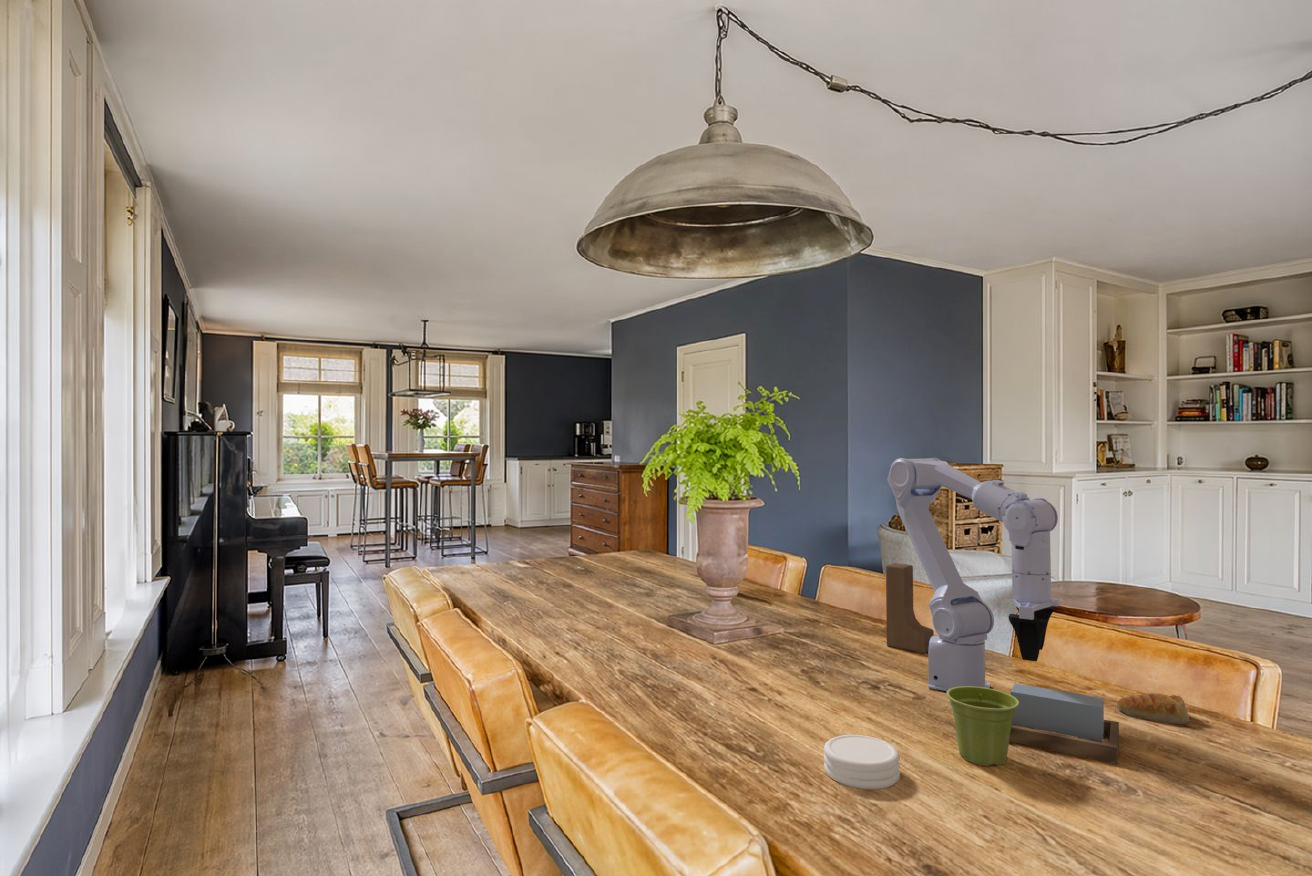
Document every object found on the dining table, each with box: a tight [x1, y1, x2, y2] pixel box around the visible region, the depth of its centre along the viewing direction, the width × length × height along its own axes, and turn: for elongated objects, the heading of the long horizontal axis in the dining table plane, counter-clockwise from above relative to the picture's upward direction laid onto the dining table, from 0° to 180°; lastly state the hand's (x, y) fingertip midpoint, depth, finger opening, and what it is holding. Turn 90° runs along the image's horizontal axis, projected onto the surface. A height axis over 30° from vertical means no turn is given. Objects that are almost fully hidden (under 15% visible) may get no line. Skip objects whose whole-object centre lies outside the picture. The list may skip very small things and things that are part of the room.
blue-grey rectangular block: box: [1010, 683, 1105, 743], centre depth 107 cm, size 12×4×5 cm, turn 56°
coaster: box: [823, 734, 901, 790], centre depth 97 cm, size 10×10×4 cm
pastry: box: [1117, 692, 1190, 725], centre depth 116 cm, size 9×7×4 cm
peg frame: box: [1009, 719, 1120, 765], centre depth 107 cm, size 16×11×2 cm
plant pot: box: [946, 686, 1019, 767], centre depth 101 cm, size 9×9×9 cm
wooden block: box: [885, 562, 935, 654], centre depth 155 cm, size 9×4×18 cm, turn 45°
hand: (1032, 654), depth 117 cm, fingers open, 7 cm apart
